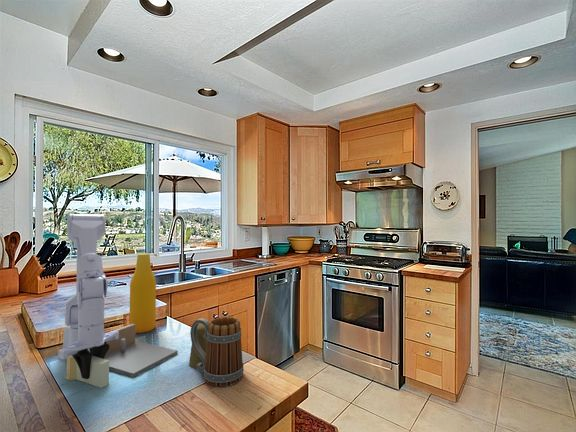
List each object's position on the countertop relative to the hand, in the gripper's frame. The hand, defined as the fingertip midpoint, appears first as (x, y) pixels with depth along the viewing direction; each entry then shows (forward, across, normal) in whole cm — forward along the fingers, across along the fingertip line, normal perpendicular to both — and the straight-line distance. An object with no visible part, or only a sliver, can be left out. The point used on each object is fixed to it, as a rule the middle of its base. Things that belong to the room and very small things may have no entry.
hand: (90, 375), depth 80 cm
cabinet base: (+1, +14, +2) cm, 14 cm away
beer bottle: (+2, +33, +20) cm, 39 cm away
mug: (+2, +16, -28) cm, 32 cm away
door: (+1, 0, +1) cm, 2 cm away
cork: (+2, +20, -19) cm, 28 cm away
